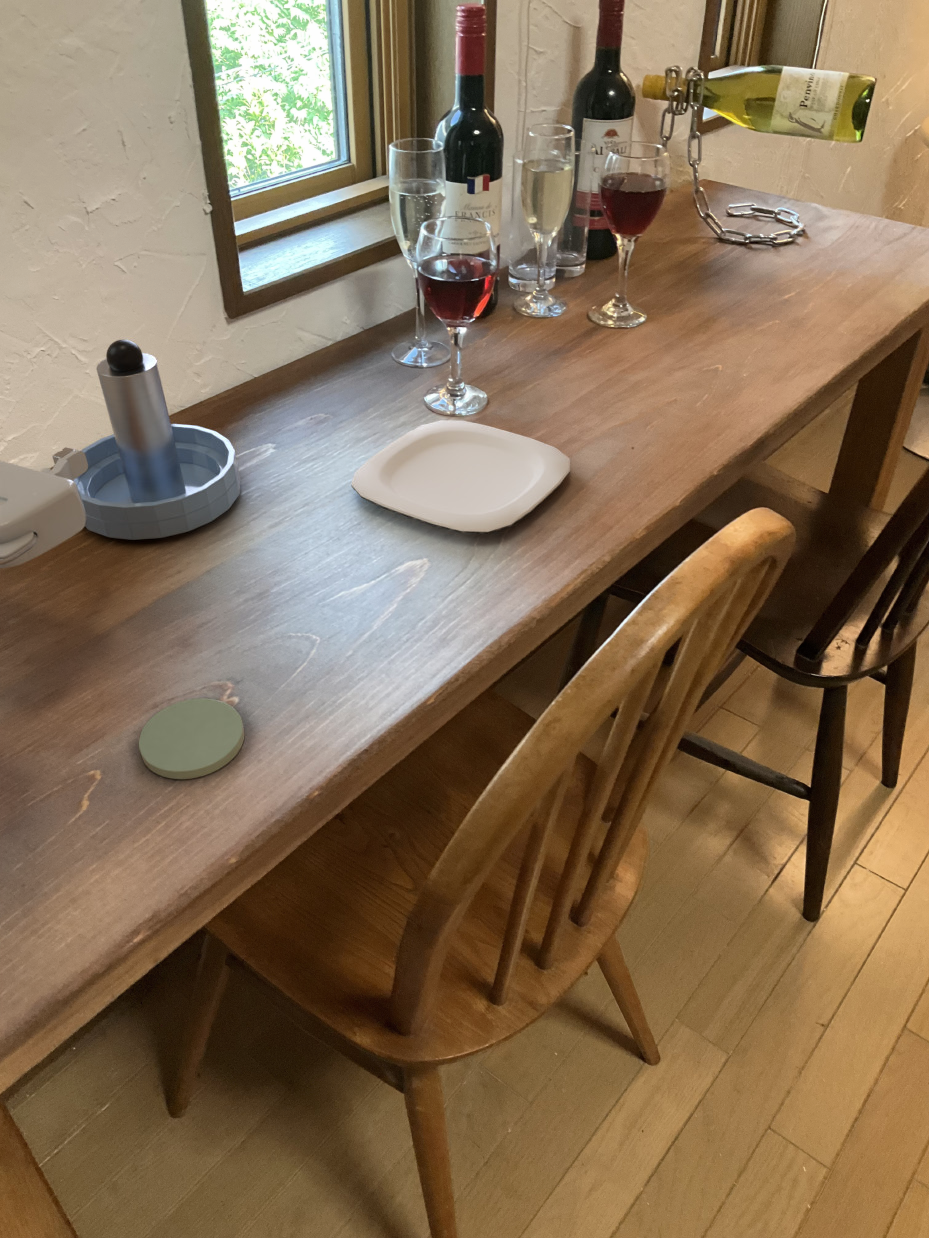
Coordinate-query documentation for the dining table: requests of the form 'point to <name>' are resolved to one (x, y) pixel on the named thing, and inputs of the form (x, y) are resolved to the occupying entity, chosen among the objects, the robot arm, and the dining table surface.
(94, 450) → the bowl
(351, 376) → the dining table surface
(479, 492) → the plate
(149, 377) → the pepper mill
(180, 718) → the coaster
